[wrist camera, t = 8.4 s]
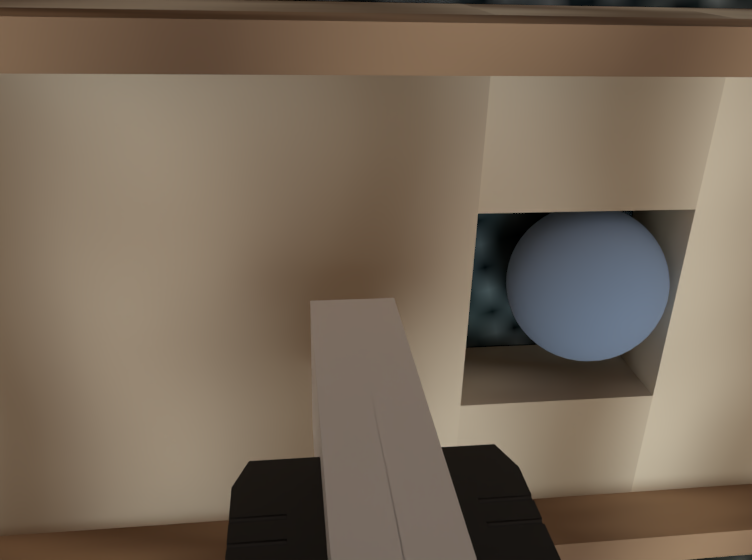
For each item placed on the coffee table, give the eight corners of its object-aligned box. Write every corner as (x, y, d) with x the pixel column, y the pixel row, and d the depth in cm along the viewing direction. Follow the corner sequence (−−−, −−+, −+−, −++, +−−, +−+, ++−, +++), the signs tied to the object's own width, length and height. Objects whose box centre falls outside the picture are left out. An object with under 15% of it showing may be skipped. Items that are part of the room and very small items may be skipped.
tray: (-403, 514, 17) (-581, 664, 14) (-713, -17, 12) (-1125, -1, 9) (739, 443, 21) (834, 547, 17) (869, 11, 16) (1042, 31, 12)
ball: (638, 320, 18) (499, 304, 19) (669, 190, 16) (516, 176, 17) (663, 403, 15) (495, 381, 15) (704, 252, 13) (515, 233, 14)
